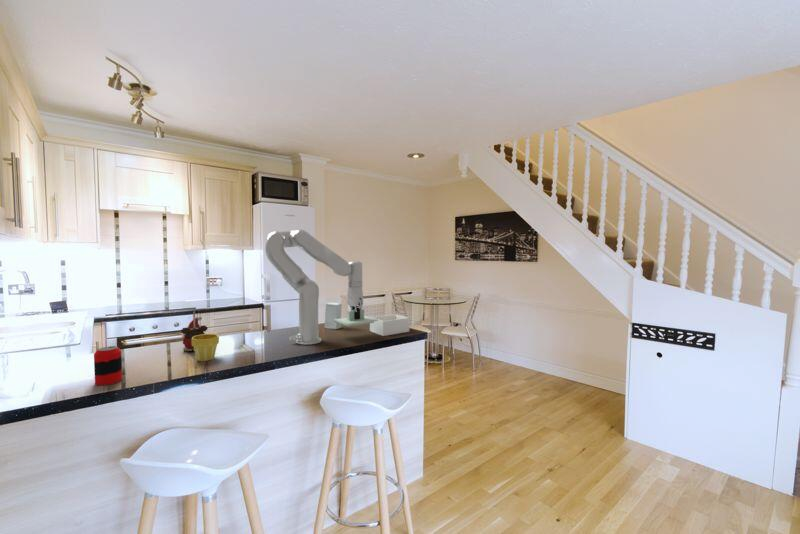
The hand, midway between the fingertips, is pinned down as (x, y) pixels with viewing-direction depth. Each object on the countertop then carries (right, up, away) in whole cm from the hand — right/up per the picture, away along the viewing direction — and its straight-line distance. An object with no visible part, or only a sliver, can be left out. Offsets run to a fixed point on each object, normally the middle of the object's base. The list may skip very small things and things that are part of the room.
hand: (355, 318), depth 194 cm
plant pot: (-60, -12, -39) cm, 72 cm away
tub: (+18, -10, +15) cm, 25 cm away
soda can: (-80, -13, -65) cm, 104 cm away
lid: (0, -2, 0) cm, 2 cm away
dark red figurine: (-72, -11, -24) cm, 77 cm away
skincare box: (-16, -9, +22) cm, 29 cm away
